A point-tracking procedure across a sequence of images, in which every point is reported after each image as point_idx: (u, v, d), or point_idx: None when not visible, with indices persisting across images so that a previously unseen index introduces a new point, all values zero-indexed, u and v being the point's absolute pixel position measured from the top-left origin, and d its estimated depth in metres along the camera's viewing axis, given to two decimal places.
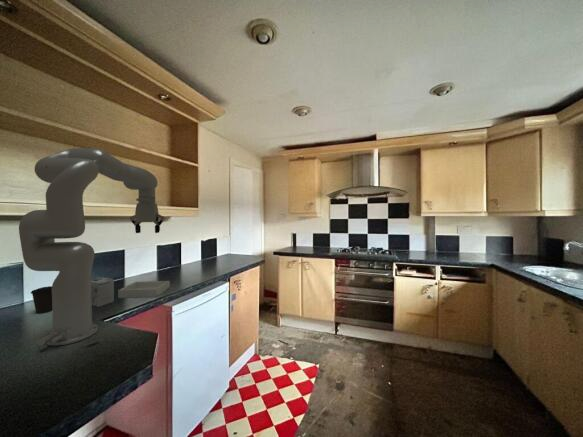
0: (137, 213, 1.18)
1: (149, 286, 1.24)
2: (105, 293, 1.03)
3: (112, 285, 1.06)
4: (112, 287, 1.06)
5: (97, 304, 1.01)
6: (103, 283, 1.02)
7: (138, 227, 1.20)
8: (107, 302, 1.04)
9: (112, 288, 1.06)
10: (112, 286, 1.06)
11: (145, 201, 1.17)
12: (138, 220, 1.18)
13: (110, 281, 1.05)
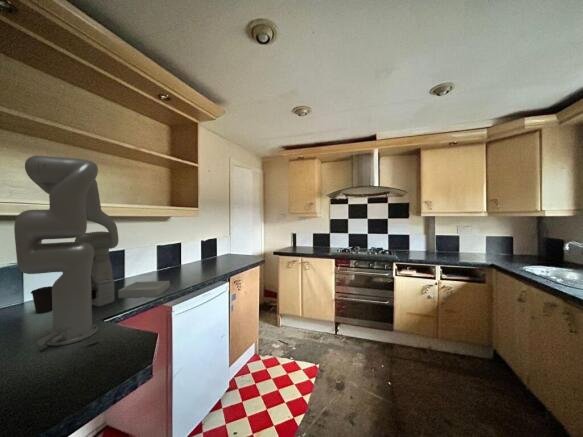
0: (99, 274, 1.02)
1: (149, 286, 1.24)
2: (106, 293, 1.03)
3: (112, 285, 1.06)
4: (113, 286, 1.06)
5: (98, 304, 1.01)
6: (104, 283, 1.03)
7: None
8: (108, 302, 1.04)
9: (112, 288, 1.06)
10: (112, 286, 1.06)
11: (108, 259, 1.07)
12: None
13: (110, 281, 1.05)
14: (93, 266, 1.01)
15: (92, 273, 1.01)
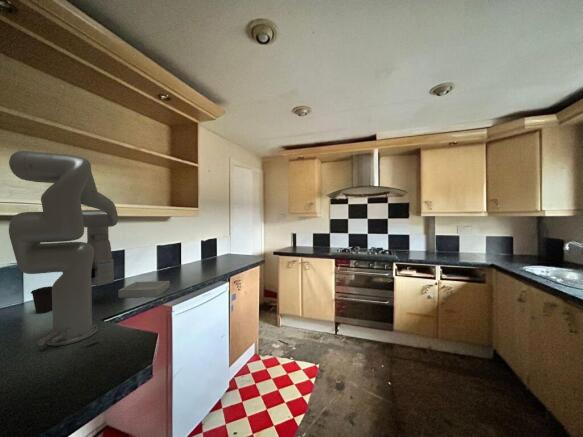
0: (98, 253, 1.02)
1: (149, 286, 1.24)
2: (105, 273, 1.02)
3: (112, 265, 1.05)
4: (112, 266, 1.05)
5: (97, 283, 1.00)
6: (103, 262, 1.02)
7: None
8: (107, 282, 1.03)
9: (112, 268, 1.05)
10: (112, 266, 1.05)
11: (107, 238, 1.06)
12: None
13: (110, 261, 1.05)
14: (92, 244, 1.00)
15: None
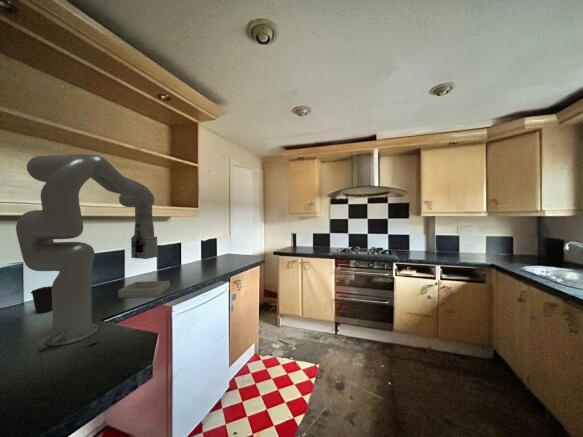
0: (145, 231, 1.14)
1: (149, 286, 1.24)
2: (151, 248, 1.16)
3: (156, 242, 1.18)
4: (156, 243, 1.18)
5: (145, 257, 1.13)
6: (149, 238, 1.15)
7: None
8: (152, 256, 1.16)
9: (156, 244, 1.18)
10: (156, 242, 1.18)
11: None
12: None
13: (154, 238, 1.18)
14: (140, 223, 1.13)
15: (140, 229, 1.13)
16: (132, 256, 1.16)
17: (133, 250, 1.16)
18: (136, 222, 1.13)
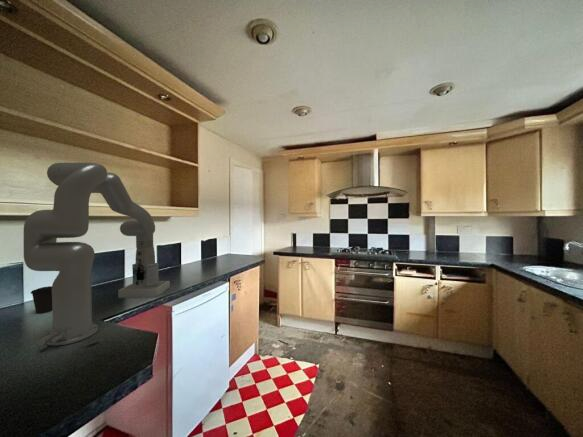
0: (146, 258, 1.15)
1: (149, 286, 1.24)
2: (152, 275, 1.16)
3: (157, 268, 1.19)
4: (157, 269, 1.19)
5: (146, 284, 1.14)
6: (150, 266, 1.15)
7: None
8: (153, 283, 1.17)
9: (157, 271, 1.19)
10: (157, 269, 1.19)
11: None
12: None
13: (155, 264, 1.18)
14: (142, 251, 1.13)
15: (141, 257, 1.13)
16: (133, 283, 1.17)
17: (134, 277, 1.16)
18: (137, 250, 1.14)
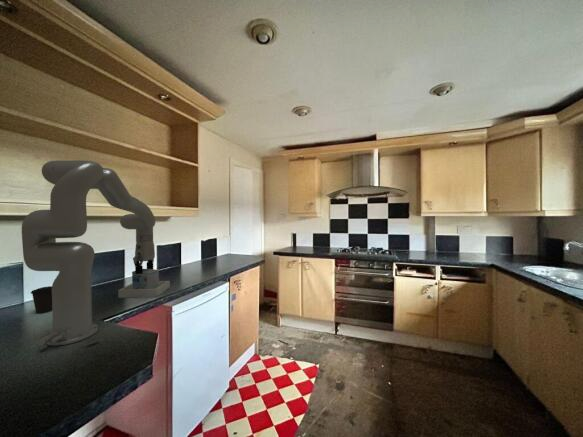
0: (146, 252, 1.14)
1: None
2: (153, 282, 1.16)
3: (157, 275, 1.19)
4: (157, 276, 1.19)
5: None
6: (151, 273, 1.16)
7: None
8: None
9: (157, 277, 1.19)
10: (157, 276, 1.19)
11: (152, 239, 1.19)
12: (146, 259, 1.15)
13: (156, 271, 1.18)
14: (141, 244, 1.13)
15: (140, 250, 1.13)
16: None
17: (134, 284, 1.16)
18: (137, 244, 1.13)
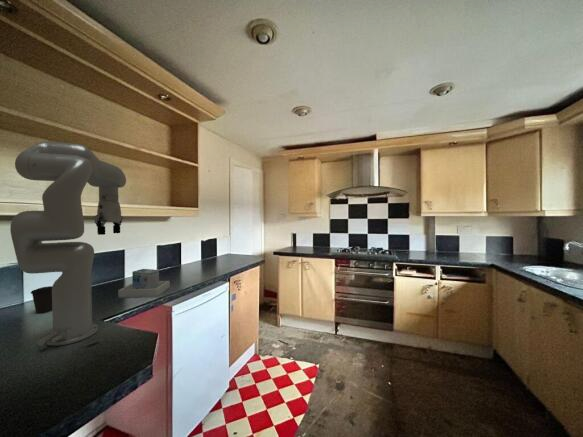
0: (109, 212, 1.09)
1: None
2: (153, 282, 1.16)
3: (157, 275, 1.19)
4: (158, 276, 1.19)
5: None
6: (151, 273, 1.16)
7: None
8: None
9: (157, 278, 1.19)
10: (157, 276, 1.19)
11: (117, 200, 1.13)
12: (110, 220, 1.09)
13: (156, 271, 1.18)
14: (103, 204, 1.07)
15: (102, 210, 1.07)
16: None
17: (134, 284, 1.16)
18: (99, 203, 1.08)
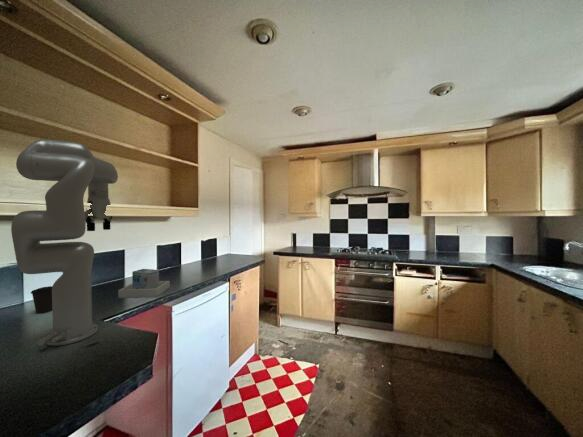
0: (99, 209, 1.07)
1: None
2: (153, 282, 1.16)
3: (157, 275, 1.19)
4: (158, 276, 1.19)
5: None
6: (151, 273, 1.16)
7: None
8: None
9: (157, 278, 1.19)
10: (157, 276, 1.19)
11: (107, 196, 1.12)
12: (99, 216, 1.08)
13: (156, 271, 1.18)
14: (93, 200, 1.06)
15: (92, 206, 1.06)
16: None
17: (134, 284, 1.16)
18: (88, 199, 1.06)
